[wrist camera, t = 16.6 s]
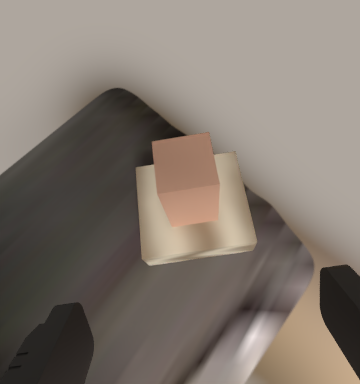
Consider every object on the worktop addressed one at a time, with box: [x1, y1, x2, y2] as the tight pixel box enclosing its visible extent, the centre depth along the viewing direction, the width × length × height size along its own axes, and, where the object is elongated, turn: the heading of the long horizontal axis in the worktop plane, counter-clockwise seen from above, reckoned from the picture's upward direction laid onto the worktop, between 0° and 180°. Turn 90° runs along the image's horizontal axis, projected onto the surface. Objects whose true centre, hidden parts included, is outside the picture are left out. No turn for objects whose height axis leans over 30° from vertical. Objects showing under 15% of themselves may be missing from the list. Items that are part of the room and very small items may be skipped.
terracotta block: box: [152, 132, 220, 227], centre depth 28 cm, size 5×5×9 cm
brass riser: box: [136, 151, 257, 266], centre depth 34 cm, size 12×11×4 cm
